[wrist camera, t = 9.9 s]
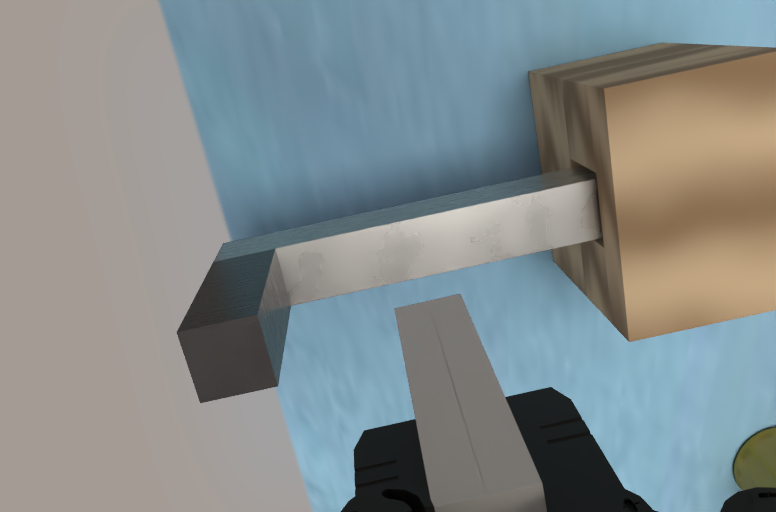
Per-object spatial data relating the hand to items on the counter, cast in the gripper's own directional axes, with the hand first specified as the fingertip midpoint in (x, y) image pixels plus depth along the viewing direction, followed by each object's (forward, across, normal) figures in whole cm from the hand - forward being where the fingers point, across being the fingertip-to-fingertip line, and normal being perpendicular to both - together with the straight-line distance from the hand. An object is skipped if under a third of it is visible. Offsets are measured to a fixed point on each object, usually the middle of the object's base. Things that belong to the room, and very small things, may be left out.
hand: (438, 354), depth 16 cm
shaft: (+20, +4, -4) cm, 21 cm away
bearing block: (+27, +14, -4) cm, 30 cm away
